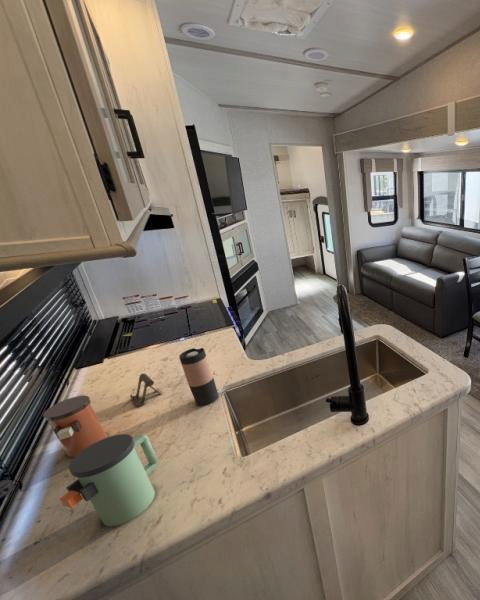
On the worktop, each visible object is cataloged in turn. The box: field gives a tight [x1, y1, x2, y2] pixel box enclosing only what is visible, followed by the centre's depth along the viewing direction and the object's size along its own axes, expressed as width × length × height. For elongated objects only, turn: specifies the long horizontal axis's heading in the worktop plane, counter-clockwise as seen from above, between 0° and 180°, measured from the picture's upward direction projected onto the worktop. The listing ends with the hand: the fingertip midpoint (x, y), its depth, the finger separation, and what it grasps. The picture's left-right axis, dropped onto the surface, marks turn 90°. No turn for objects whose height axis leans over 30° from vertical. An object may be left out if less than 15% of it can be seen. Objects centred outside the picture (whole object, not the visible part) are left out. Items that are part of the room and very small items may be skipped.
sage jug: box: [65, 433, 159, 527], centre depth 73 cm, size 16×11×17 cm
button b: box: [56, 427, 74, 440], centre depth 86 cm, size 2×2×2 cm
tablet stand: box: [129, 373, 162, 408], centre depth 115 cm, size 9×8×8 cm
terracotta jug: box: [42, 395, 108, 458], centre depth 93 cm, size 14×10×15 cm
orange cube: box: [59, 490, 84, 509], centre depth 64 cm, size 2×2×2 cm
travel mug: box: [178, 347, 219, 407], centre depth 110 cm, size 8×8×20 cm
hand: (9, 484), depth 57 cm, fingers closed
